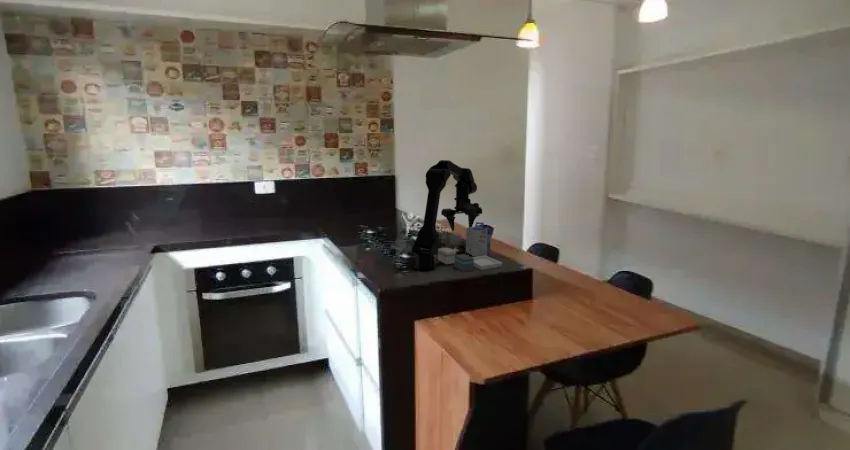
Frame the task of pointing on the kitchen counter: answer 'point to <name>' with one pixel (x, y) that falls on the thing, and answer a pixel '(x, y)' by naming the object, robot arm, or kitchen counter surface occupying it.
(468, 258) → the block
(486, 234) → the ink cartridge box
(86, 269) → the kitchen counter surface
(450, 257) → the block
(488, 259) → the tray
